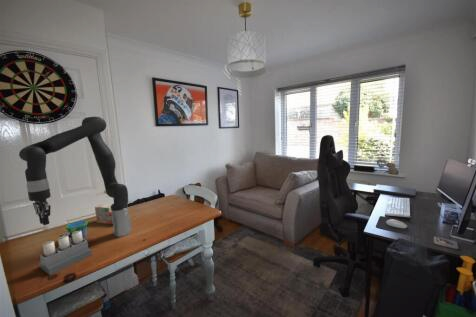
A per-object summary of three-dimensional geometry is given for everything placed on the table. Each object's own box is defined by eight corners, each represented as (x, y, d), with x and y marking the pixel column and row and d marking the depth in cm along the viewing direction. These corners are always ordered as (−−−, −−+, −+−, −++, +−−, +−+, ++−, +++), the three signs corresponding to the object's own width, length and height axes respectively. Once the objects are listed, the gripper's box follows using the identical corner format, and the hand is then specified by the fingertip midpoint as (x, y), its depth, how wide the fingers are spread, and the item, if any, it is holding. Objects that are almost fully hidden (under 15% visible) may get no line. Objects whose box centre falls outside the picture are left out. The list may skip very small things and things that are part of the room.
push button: (76, 244, 125) (74, 229, 123) (77, 248, 121) (75, 232, 120) (62, 249, 120) (59, 233, 119) (62, 253, 117) (60, 236, 115)
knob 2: (80, 240, 117) (79, 229, 116) (84, 242, 114) (83, 231, 114) (71, 243, 113) (70, 233, 112) (75, 245, 111) (73, 234, 110)
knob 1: (53, 251, 106) (51, 239, 105) (57, 253, 104) (55, 241, 103) (43, 255, 103) (40, 244, 102) (46, 258, 101) (44, 246, 100)
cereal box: (127, 221, 156) (125, 205, 154) (120, 225, 150) (118, 208, 148) (103, 219, 161) (101, 203, 159) (96, 222, 155) (94, 206, 153)
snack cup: (75, 234, 138) (73, 219, 136) (93, 232, 140) (91, 217, 139) (62, 247, 123) (59, 231, 121) (83, 244, 125) (80, 228, 124)
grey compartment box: (81, 249, 120) (79, 236, 119) (91, 254, 114) (89, 241, 113) (39, 267, 105) (37, 253, 104) (49, 275, 99) (47, 260, 98)
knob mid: (67, 245, 111) (66, 234, 111) (71, 247, 109) (69, 236, 108) (58, 249, 108) (56, 238, 107) (61, 251, 106) (59, 240, 105)
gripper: (55, 188, 98) (60, 223, 101) (43, 185, 105) (48, 218, 108) (33, 193, 92) (40, 230, 94) (22, 189, 99) (29, 224, 101)
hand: (44, 223), depth 101 cm, fingers open, 3 cm apart
